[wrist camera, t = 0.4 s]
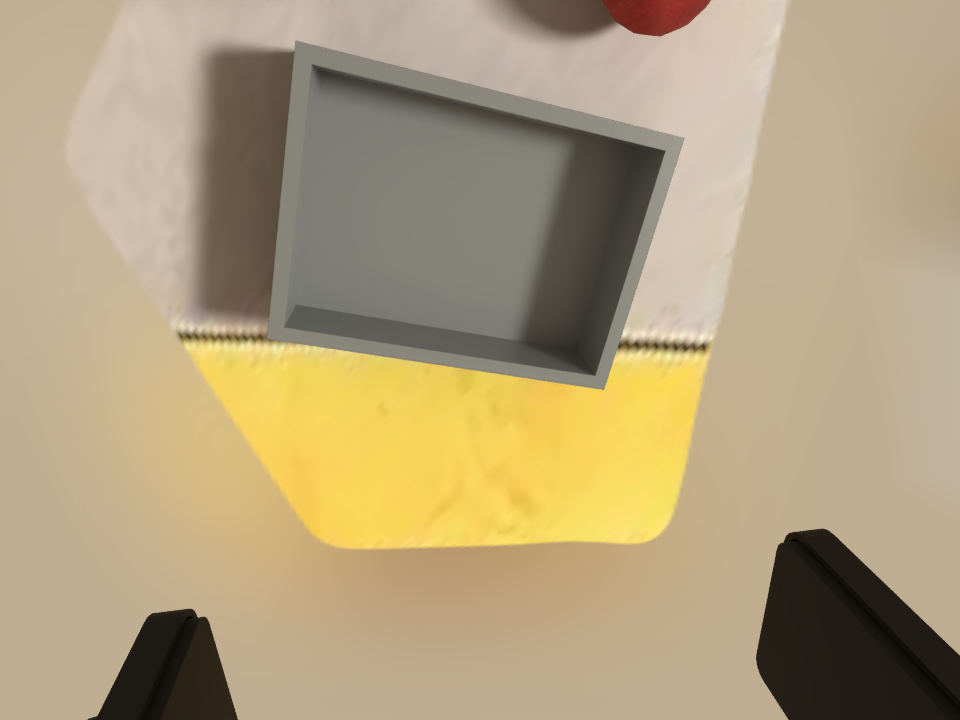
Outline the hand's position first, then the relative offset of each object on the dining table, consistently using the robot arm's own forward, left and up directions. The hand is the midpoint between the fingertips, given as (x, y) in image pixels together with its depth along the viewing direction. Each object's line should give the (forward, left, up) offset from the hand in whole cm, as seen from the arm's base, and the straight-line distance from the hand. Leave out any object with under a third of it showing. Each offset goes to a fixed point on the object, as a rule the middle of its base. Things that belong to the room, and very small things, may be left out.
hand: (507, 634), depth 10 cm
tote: (-2, +2, -29) cm, 29 cm away
